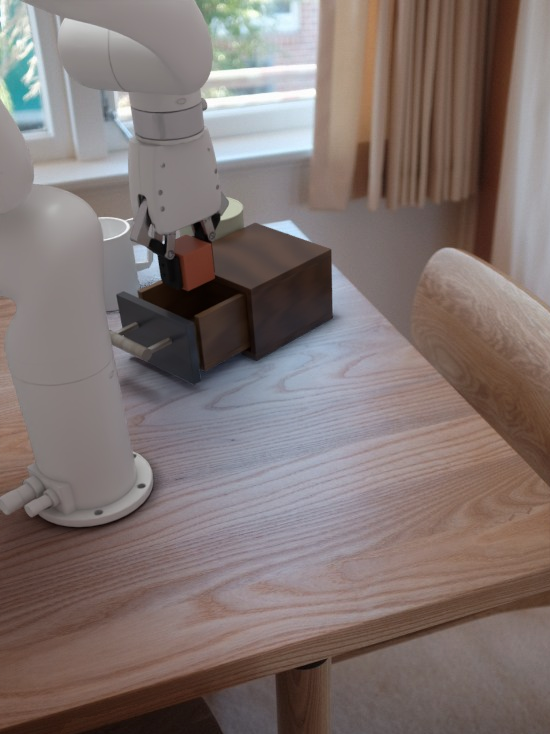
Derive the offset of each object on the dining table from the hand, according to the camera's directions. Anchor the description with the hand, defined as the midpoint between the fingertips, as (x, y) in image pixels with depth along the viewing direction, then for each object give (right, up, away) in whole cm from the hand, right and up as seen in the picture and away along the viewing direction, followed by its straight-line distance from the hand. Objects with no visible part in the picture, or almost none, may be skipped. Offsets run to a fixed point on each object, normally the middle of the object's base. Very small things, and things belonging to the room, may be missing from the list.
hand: (188, 276), depth 109 cm
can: (+1, +4, +22) cm, 22 cm away
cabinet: (+7, -3, +13) cm, 15 cm away
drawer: (-1, -8, +5) cm, 10 cm away
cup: (-13, +3, +20) cm, 24 cm away
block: (0, 0, 0) cm, 0 cm away
